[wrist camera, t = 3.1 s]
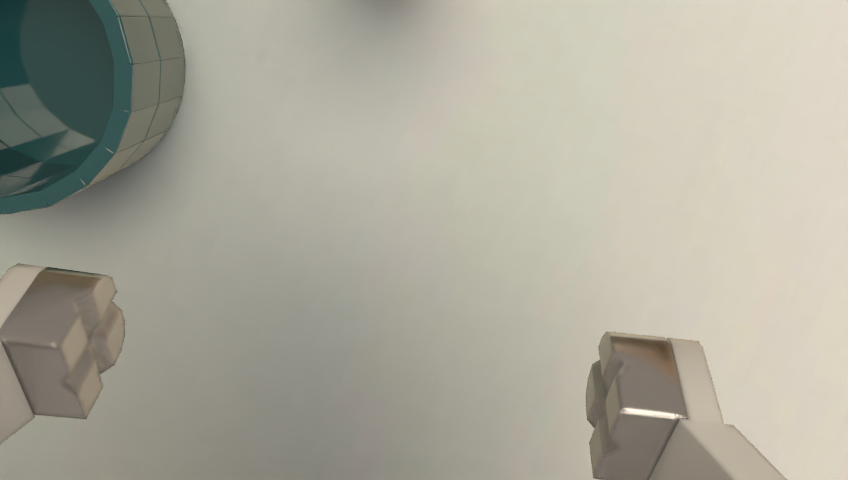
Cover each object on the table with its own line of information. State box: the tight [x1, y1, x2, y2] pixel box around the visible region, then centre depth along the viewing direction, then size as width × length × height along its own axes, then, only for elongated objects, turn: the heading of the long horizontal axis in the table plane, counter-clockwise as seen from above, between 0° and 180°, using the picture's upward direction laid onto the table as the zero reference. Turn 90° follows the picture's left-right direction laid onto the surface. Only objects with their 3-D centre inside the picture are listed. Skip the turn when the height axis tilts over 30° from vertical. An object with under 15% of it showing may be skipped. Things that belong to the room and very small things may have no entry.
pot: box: [0, 0, 185, 214], centre depth 35 cm, size 13×13×8 cm
